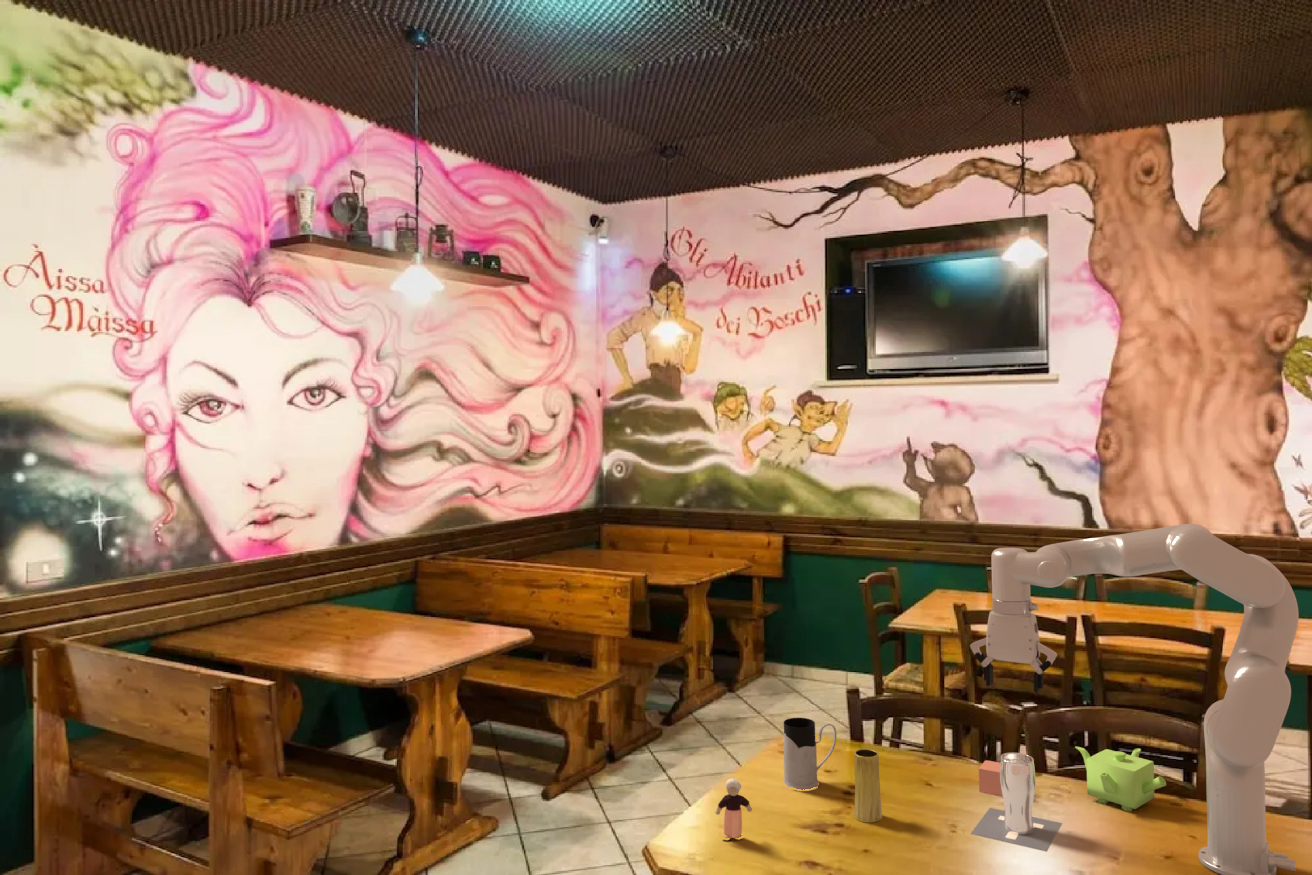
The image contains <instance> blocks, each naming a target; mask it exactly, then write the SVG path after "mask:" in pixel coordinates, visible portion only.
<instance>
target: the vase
mask: <svg viewBox="0 0 1312 875" xmlns="http://www.w3.org/2000/svg"><path fill="white" fill-rule="evenodd" d="M853 753H854V754H853V761H854V763H853V765H854V790H855V791H854V812H853V816H854V818H855V819H856V820H857V821H859V822H862V823H868V824H871V823H872V824H873V823H878V822H881V820H882V819H883V813H882V800H881V798H882V797H881V782H880V780H881V779H880V778H881V777H880V761H879V760H880V759H879V754H880V753H879V752H878V751H876V750H875V749H871V748H859V749H856V750H855V751H854V752H853Z"/></svg>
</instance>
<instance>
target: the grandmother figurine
mask: <svg viewBox="0 0 1312 875" xmlns="http://www.w3.org/2000/svg"><path fill="white" fill-rule="evenodd" d="M725 789H726V791H727V794H726V795H724V796H723V798H721V800H720V801H719V803H718V804H717V806H716V810H715V812H714V813H715V815H721V811H722V810H723V808H725V810H724V816H723V817H724V818H723V836H724V837H725V838H730V837H731V838H733V839H734V838H739V837H741V836H743V835H742V833H743V815H742V814H743V813H742V808H741V806H742V807H744V808H746V811H747V812H750V813H751V812H752V811H753V809H752V807H751V804H750V801H749V800H748V799H747V798H746V797H744V796H743V795H741V794H739V792H740V791H741V789H742V785H741V783H740V781H739V780H738V779H736V778H734V777H733V778H729V779H728V780H726V782H725ZM724 834H725V835H724Z"/></svg>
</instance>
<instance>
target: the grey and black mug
mask: <svg viewBox="0 0 1312 875" xmlns="http://www.w3.org/2000/svg"><path fill="white" fill-rule="evenodd" d="M827 726H832V728H833V732H834V733H833V741H832V745H831V748H830V750H829V752H828V754H826V756H825V757H823V758H824V759H823V760H822V761H821V762H820V763H819V764H817V744H819V743H820V742H821V741H822V734H823V730H824V729H825V728H826V727H827ZM818 733H819V734H818V740H816V723H815V721H814V720H813V719H810V718H805V717H790V718H787V719H785V720H784V721H783V739H782V740H783V741H782V742H783V768H784V769H783V772H784V774H783V775H784V778H783V781H784V783H785V784H786V785H787V786H788V787H793V788H796V789H801V790H803V789H804V790H805V789H811V788H813V787H817V786H818V783H819V781H818V770H819V769H820V768H821V767H822V765H823V764H824V763H826V761H827V760H828V758H829V757H830V756H831V755H832V753H833V751H834V749H835V746H836V741H837V730H836V726H835V725H834V724H832V723H824V724H823V725H822V726H821V727H820V729H819V732H818ZM819 784H820V783H819Z"/></svg>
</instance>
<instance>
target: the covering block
mask: <svg viewBox="0 0 1312 875" xmlns="http://www.w3.org/2000/svg"><path fill="white" fill-rule="evenodd" d="M978 789H979V790H978V793H983V794H987V795H992V796H997V797H1002V798H1003V795H1002V790H1001V783H1000V762H997V761H992V760H986V759H984V761H983V763H982V764H981V765H980V766H979V767H978Z"/></svg>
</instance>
